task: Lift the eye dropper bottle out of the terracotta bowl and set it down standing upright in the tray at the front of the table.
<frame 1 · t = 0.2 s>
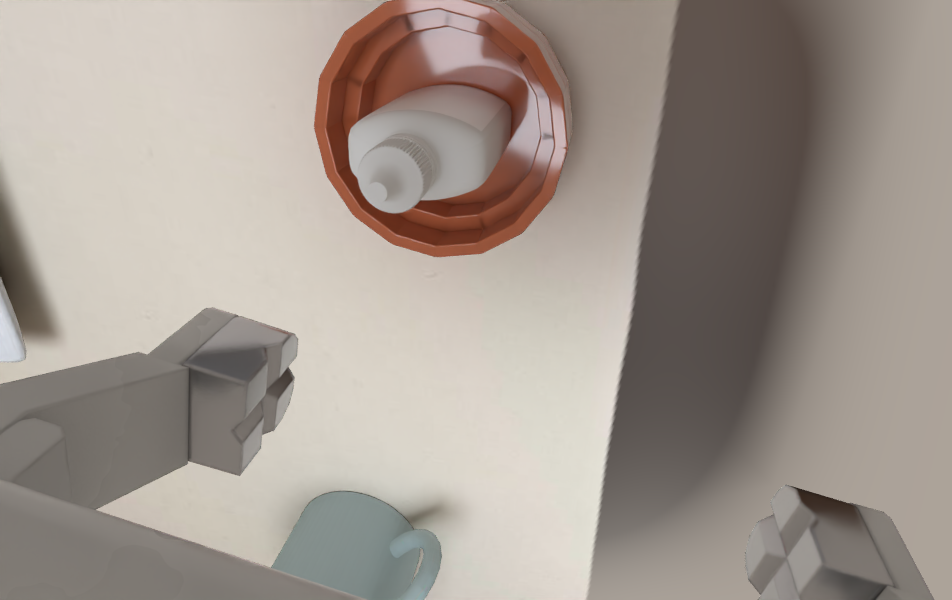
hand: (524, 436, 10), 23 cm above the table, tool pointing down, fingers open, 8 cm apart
eye dropper bottle: (456, 119, 31), resting on bowl
bowl: (458, 117, 32), on the table
mug: (383, 527, 46), on the table
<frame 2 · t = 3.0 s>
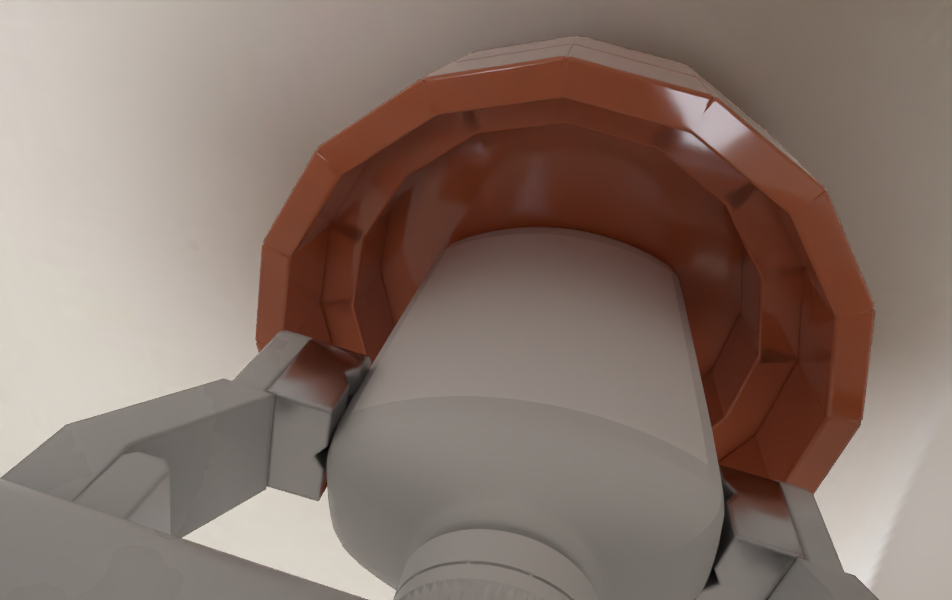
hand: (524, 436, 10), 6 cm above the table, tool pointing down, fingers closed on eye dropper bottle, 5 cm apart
eye dropper bottle: (554, 287, 15), resting on bowl, touching gripper
bowl: (555, 279, 16), on the table
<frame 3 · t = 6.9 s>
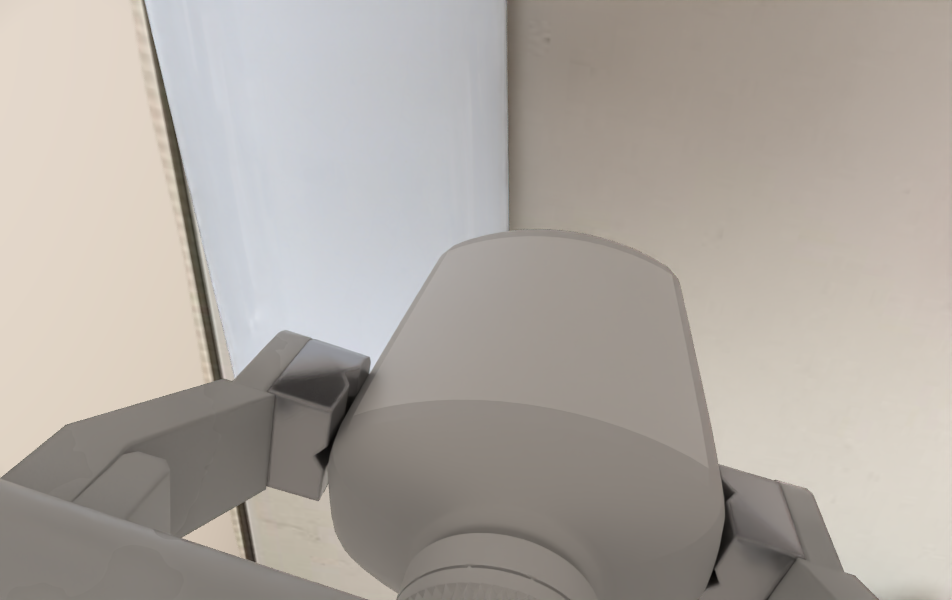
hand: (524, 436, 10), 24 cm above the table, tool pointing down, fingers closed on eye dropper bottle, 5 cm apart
eye dropper bottle: (555, 289, 15), point 18 cm above the table, touching gripper
tray: (365, 173, 35), on the table
when the fingers open (8 cm above the table, at t = 11.1 s): eye dropper bottle stays where it is, resting on tray.
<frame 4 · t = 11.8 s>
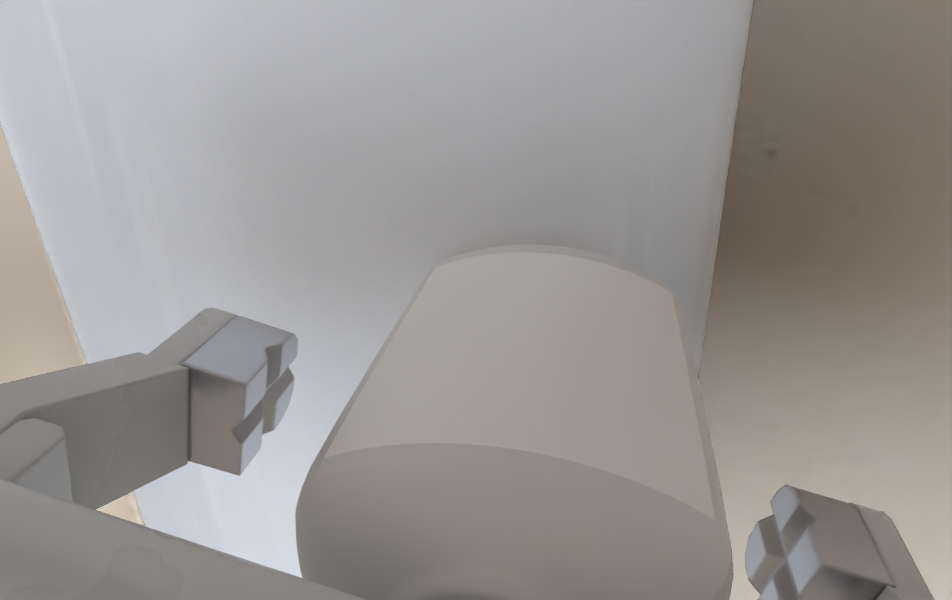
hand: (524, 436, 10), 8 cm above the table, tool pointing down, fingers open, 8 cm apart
eye dropper bottle: (549, 307, 15), point 3 cm above the table, touching tray
tray: (406, 356, 20), on the table, touching eye dropper bottle
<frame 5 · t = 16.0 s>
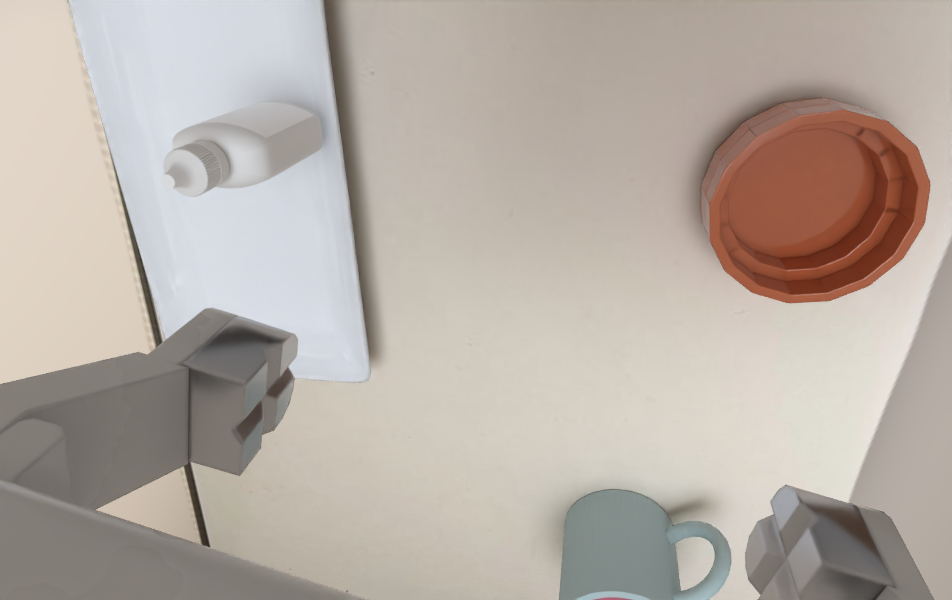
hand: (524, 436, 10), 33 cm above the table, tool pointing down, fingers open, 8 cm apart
eye dropper bottle: (284, 127, 40), point 3 cm above the table, touching tray
bowl: (794, 190, 40), on the table
tray: (253, 170, 46), on the table, touching eye dropper bottle
mug: (642, 520, 54), on the table
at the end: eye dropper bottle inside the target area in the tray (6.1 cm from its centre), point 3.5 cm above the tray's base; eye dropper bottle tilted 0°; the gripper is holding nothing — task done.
